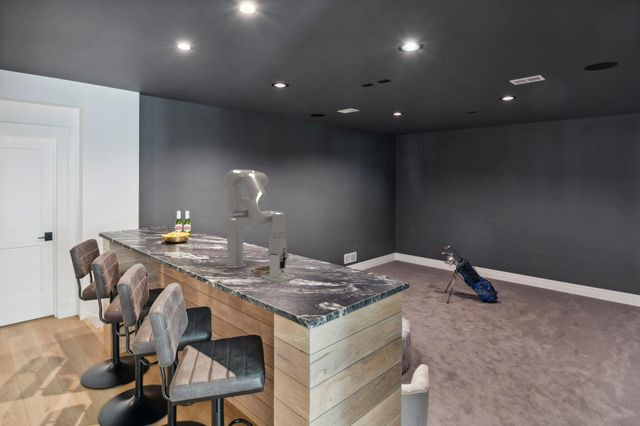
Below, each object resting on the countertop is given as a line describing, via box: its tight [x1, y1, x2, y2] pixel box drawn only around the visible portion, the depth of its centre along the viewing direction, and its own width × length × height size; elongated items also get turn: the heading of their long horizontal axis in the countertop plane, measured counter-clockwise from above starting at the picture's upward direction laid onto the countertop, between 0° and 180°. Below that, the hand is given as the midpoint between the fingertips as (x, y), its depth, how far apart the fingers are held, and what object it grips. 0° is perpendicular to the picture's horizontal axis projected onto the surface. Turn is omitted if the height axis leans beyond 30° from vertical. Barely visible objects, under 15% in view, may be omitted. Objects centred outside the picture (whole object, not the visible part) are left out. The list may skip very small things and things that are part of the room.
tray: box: [260, 272, 296, 284], centre depth 204 cm, size 14×12×2 cm
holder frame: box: [250, 264, 284, 277], centre depth 217 cm, size 12×14×2 cm
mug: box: [269, 253, 287, 277], centre depth 203 cm, size 10×7×12 cm, turn 127°
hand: (277, 266), depth 203 cm, fingers closed on mug, 6 cm apart
